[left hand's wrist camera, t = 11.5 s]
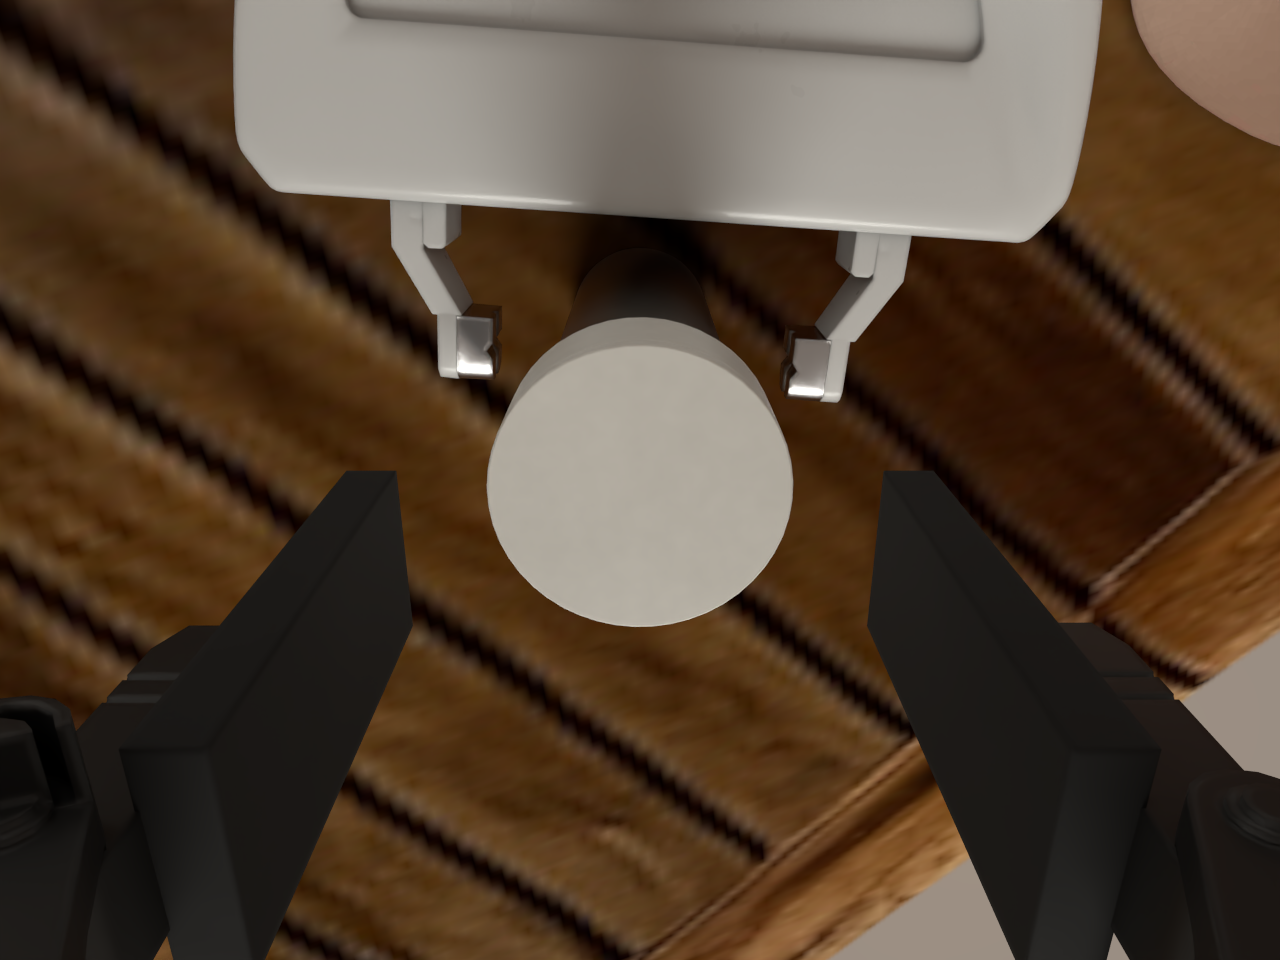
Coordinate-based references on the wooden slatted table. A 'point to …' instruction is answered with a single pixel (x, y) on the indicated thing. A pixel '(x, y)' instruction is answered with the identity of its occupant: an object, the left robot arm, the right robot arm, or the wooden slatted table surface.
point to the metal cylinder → (640, 292)
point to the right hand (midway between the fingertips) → (640, 385)
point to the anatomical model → (1220, 56)
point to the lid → (640, 474)
